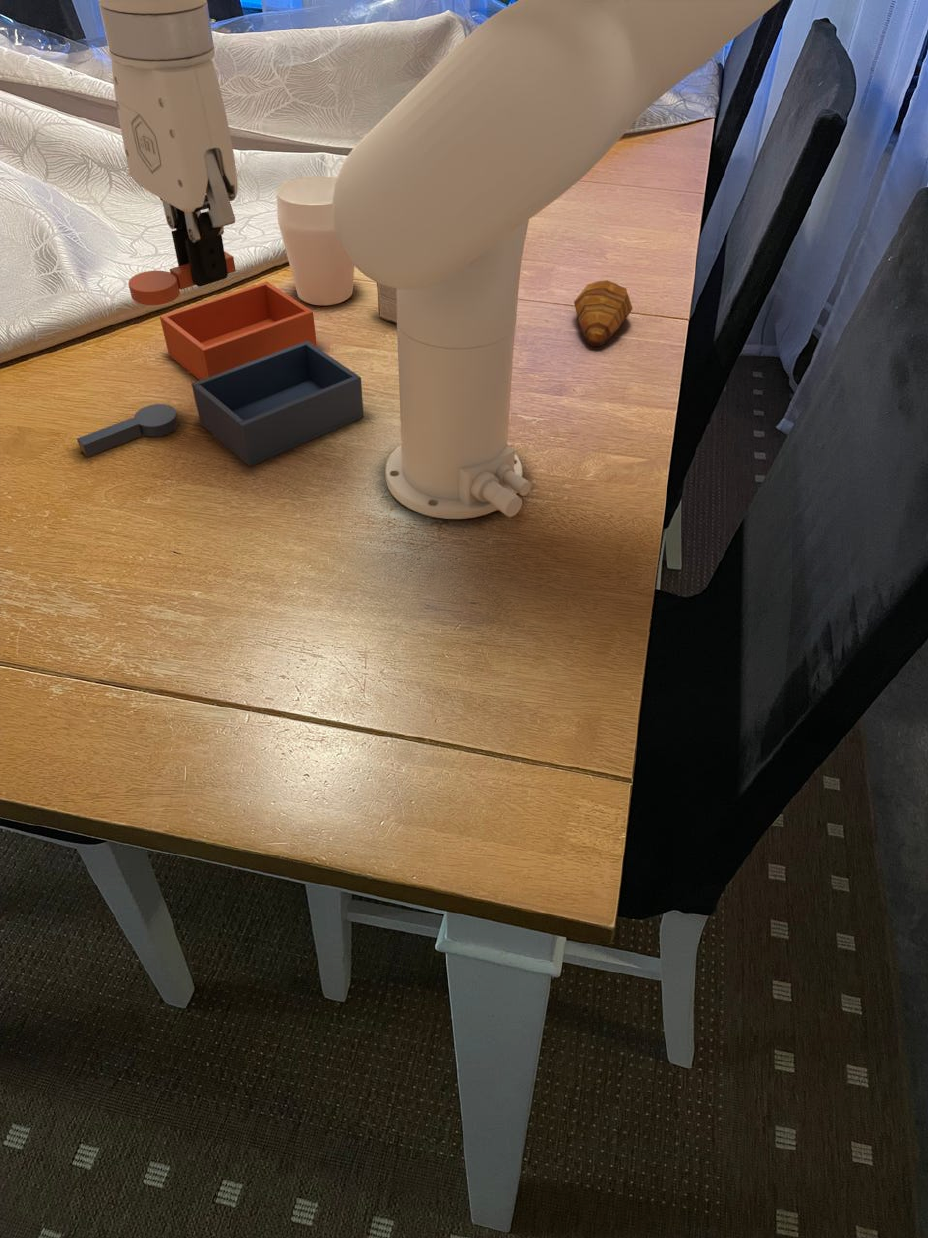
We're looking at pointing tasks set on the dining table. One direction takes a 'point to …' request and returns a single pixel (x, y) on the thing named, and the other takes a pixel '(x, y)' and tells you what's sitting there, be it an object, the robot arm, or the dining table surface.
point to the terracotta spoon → (165, 283)
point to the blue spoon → (132, 429)
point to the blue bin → (278, 402)
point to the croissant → (602, 310)
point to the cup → (313, 240)
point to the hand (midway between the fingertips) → (204, 275)
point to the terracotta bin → (236, 329)
